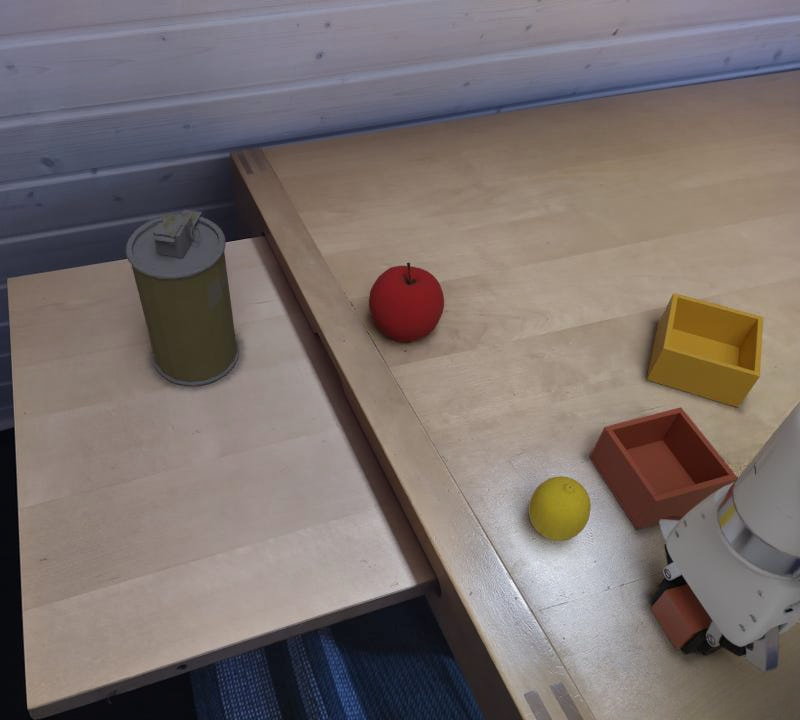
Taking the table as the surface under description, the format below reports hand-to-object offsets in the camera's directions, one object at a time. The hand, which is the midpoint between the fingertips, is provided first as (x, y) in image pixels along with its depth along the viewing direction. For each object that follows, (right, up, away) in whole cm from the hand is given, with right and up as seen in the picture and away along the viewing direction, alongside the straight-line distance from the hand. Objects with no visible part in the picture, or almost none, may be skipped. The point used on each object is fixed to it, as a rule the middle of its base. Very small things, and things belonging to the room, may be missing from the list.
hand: (682, 621), depth 65 cm
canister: (-49, +25, +23) cm, 59 cm away
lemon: (-10, +7, +7) cm, 14 cm away
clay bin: (+2, +11, +10) cm, 15 cm away
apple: (-23, +28, +26) cm, 44 cm away
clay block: (0, 0, 0) cm, 0 cm away
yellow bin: (+12, +24, +21) cm, 34 cm away
